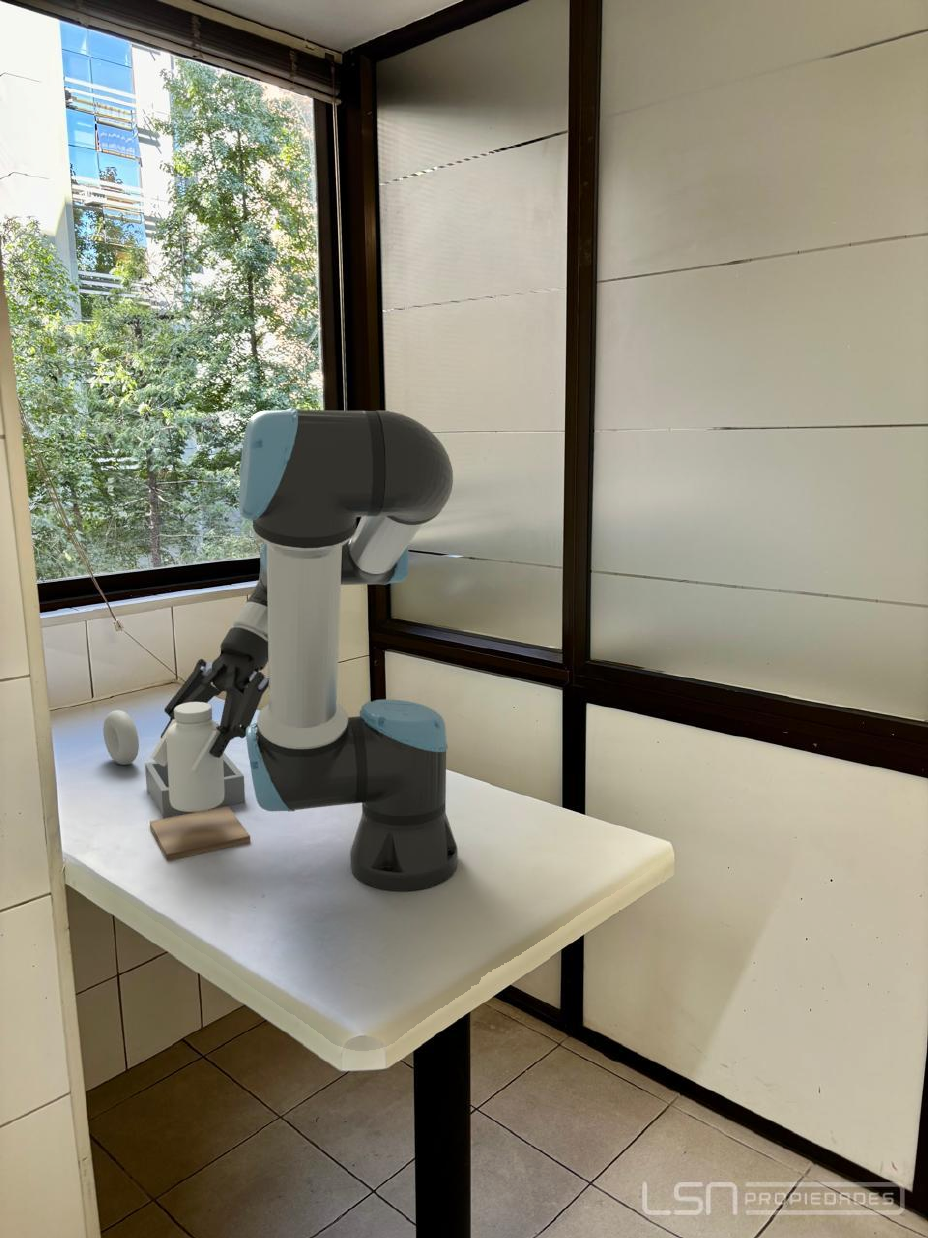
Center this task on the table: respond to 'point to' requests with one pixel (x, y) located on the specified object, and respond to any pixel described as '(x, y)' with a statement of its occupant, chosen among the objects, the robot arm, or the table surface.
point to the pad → (198, 832)
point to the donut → (121, 737)
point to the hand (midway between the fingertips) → (177, 768)
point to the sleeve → (159, 784)
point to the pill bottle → (192, 759)
